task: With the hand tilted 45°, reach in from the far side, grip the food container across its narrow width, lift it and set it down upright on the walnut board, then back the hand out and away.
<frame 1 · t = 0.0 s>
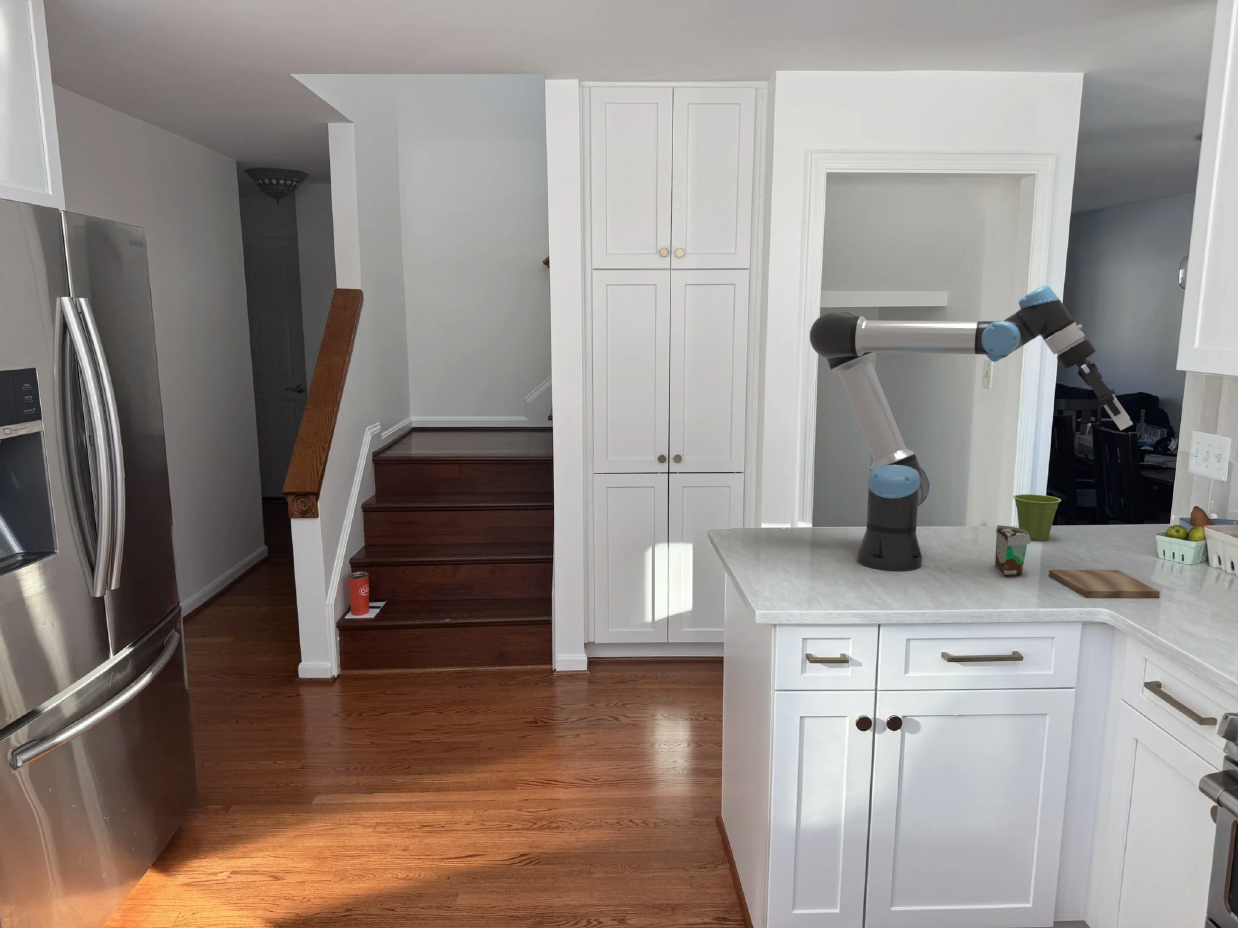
hand: (1125, 424, 196), 36 cm above the countertop, tool tilted 35°, fingers open, 13 cm apart
food container: (1012, 573, 205), on the countertop
plant pot: (1033, 538, 237), on the countertop
walnut board: (1101, 586, 194), on the countertop
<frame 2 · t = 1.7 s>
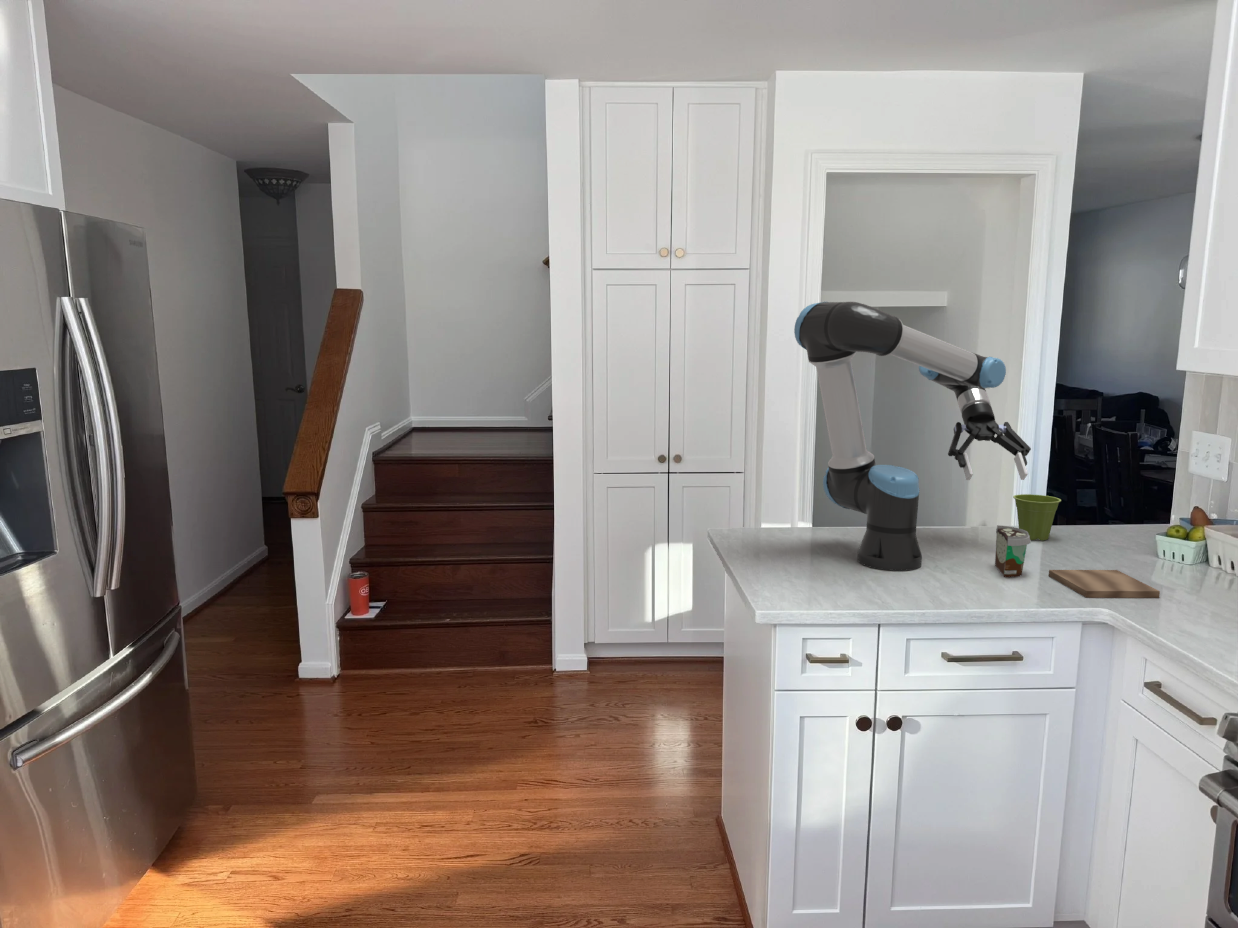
hand: (997, 477, 214), 21 cm above the countertop, tool tilted 45°, fingers open, 13 cm apart
nothing on the countertop moved.
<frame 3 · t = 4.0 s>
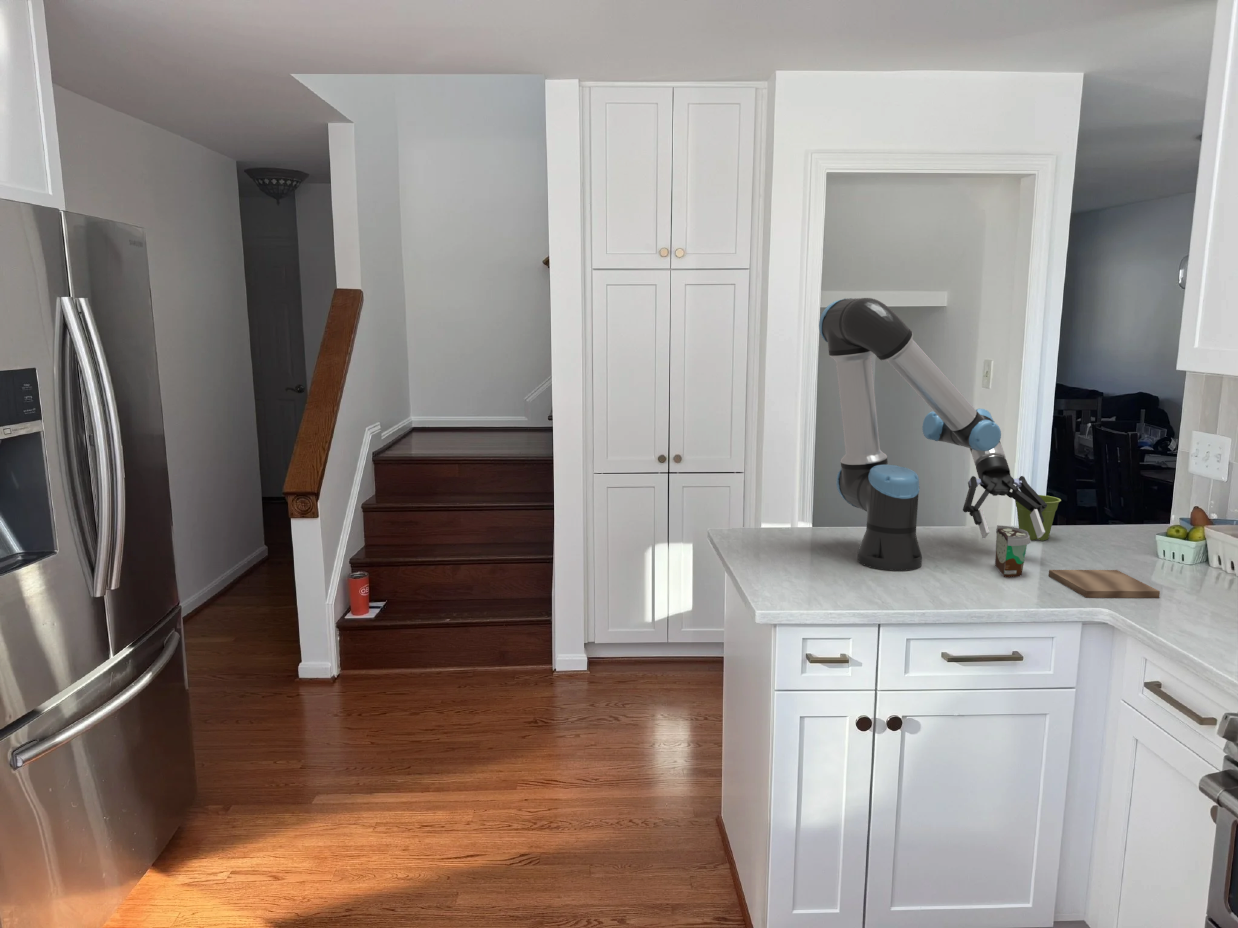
hand: (1013, 535, 209), 8 cm above the countertop, tool tilted 45°, fingers open, 13 cm apart
nothing on the countertop moved.
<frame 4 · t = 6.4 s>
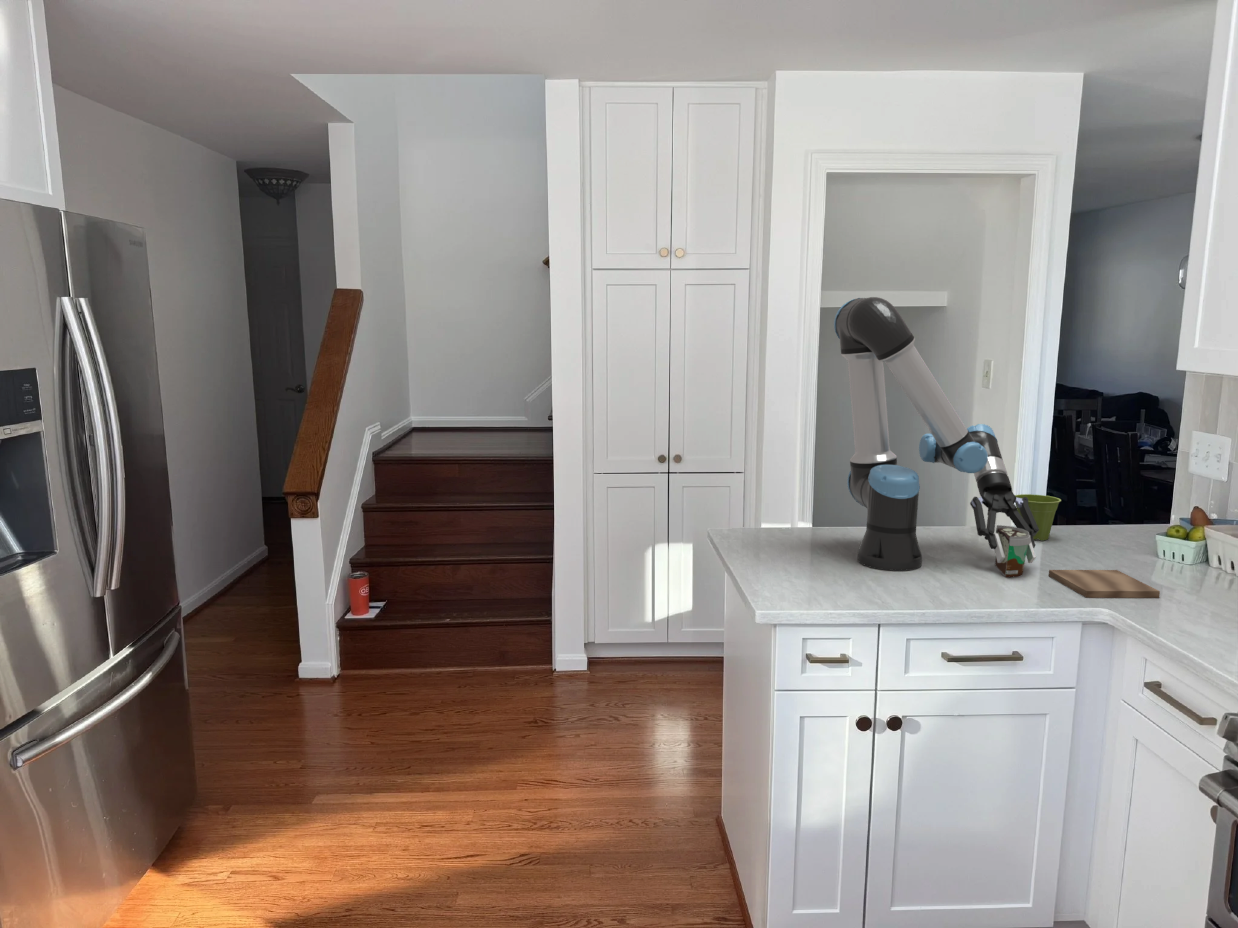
hand: (1016, 559, 202), 3 cm above the countertop, tool tilted 45°, fingers closed on food container, 7 cm apart
food container: (1013, 572, 205), on the countertop, touching gripper
everything else where it was.
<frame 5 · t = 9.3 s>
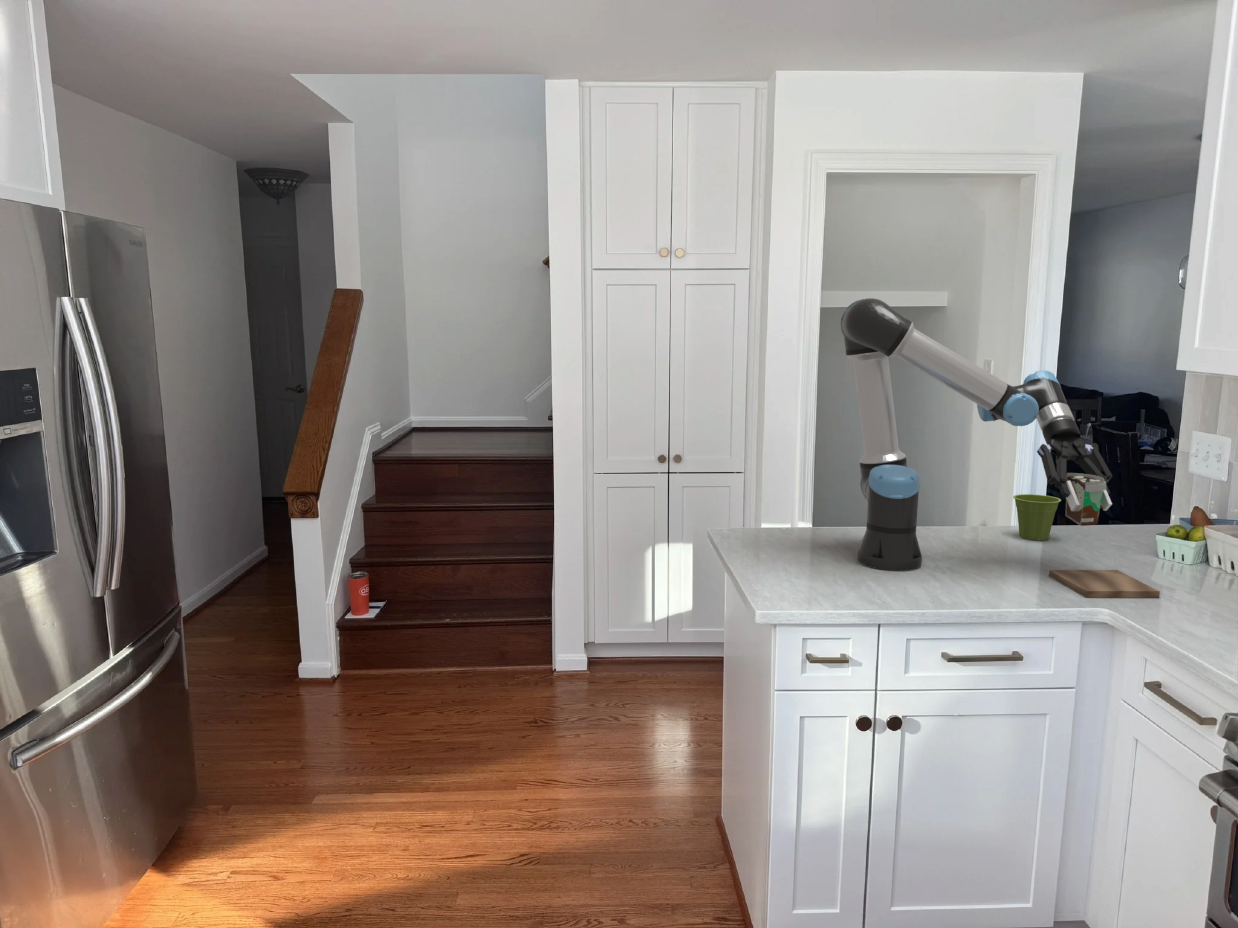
hand: (1091, 507, 193), 18 cm above the countertop, tool tilted 45°, fingers closed on food container, 7 cm apart
food container: (1087, 521, 195), point 14 cm above the countertop, touching gripper
everything else where it was.
when the fingers open (6 cm above the countertop, at t = 12.3 s): food container drops 1 cm, resting on walnut board.
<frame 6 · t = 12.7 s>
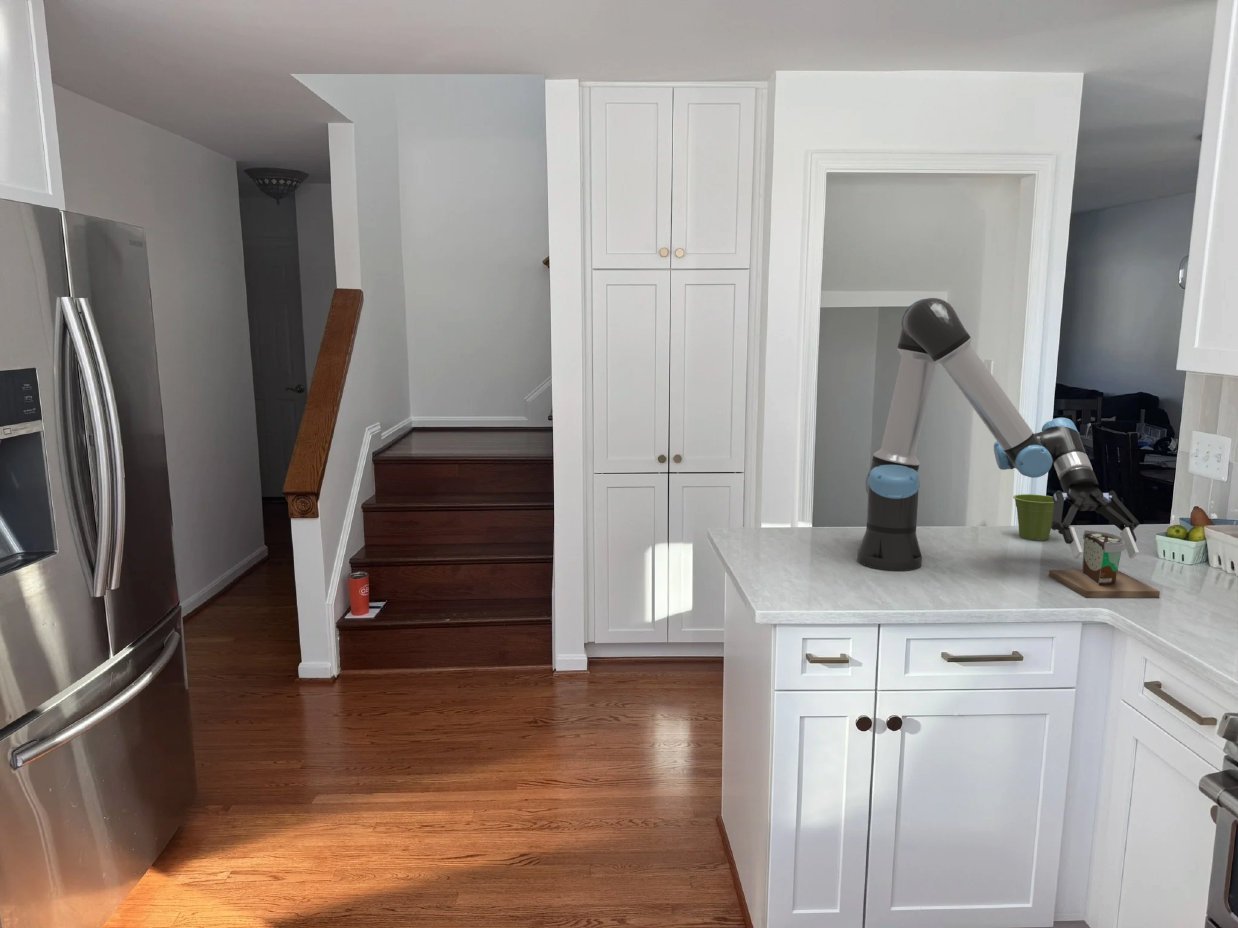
hand: (1106, 555, 192), 7 cm above the countertop, tool tilted 45°, fingers open, 12 cm apart
food container: (1104, 580, 194), point 1 cm above the countertop, touching walnut board
everything else where it was.
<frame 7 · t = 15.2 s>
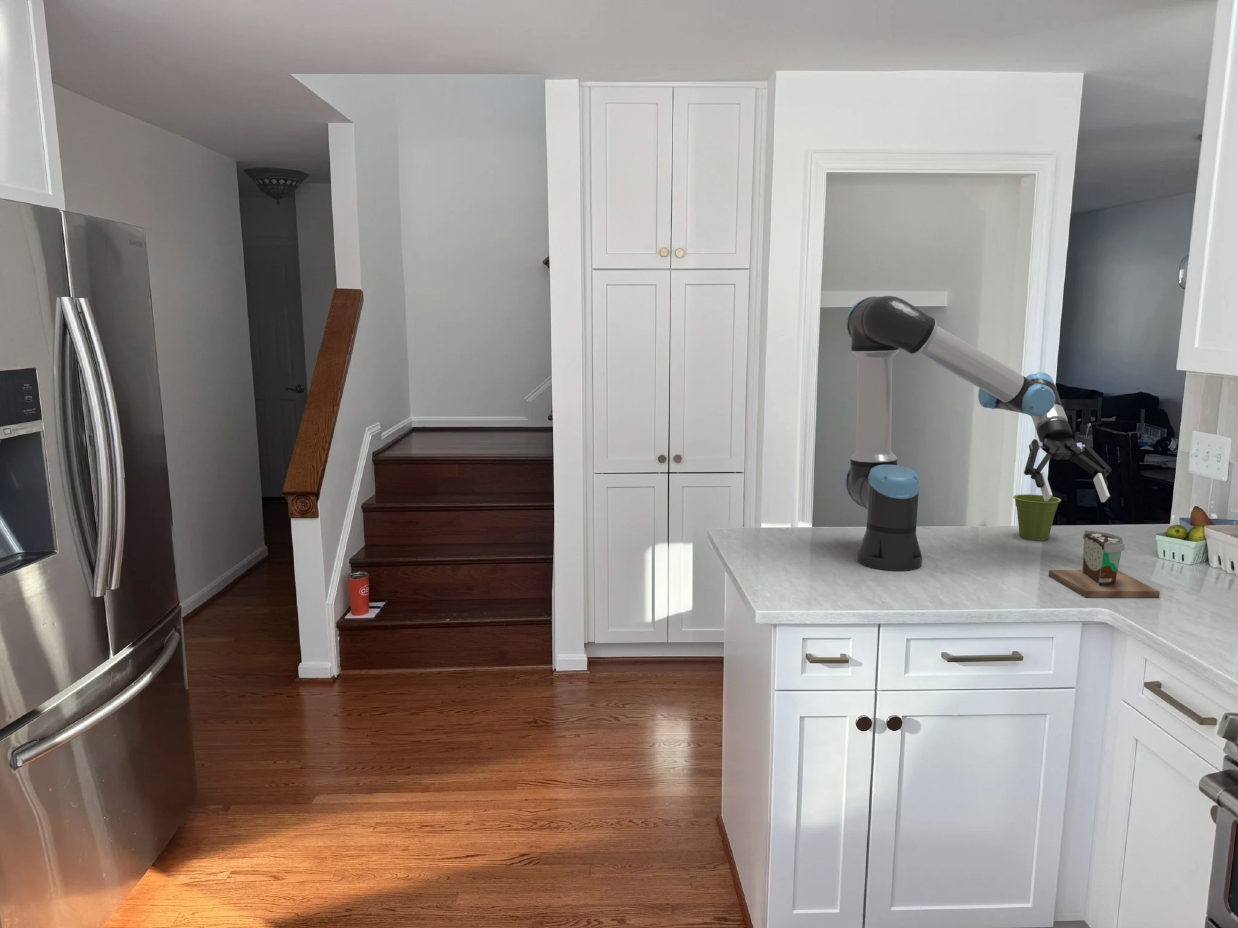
hand: (1077, 498, 204), 17 cm above the countertop, tool tilted 45°, fingers open, 13 cm apart
nothing on the countertop moved.
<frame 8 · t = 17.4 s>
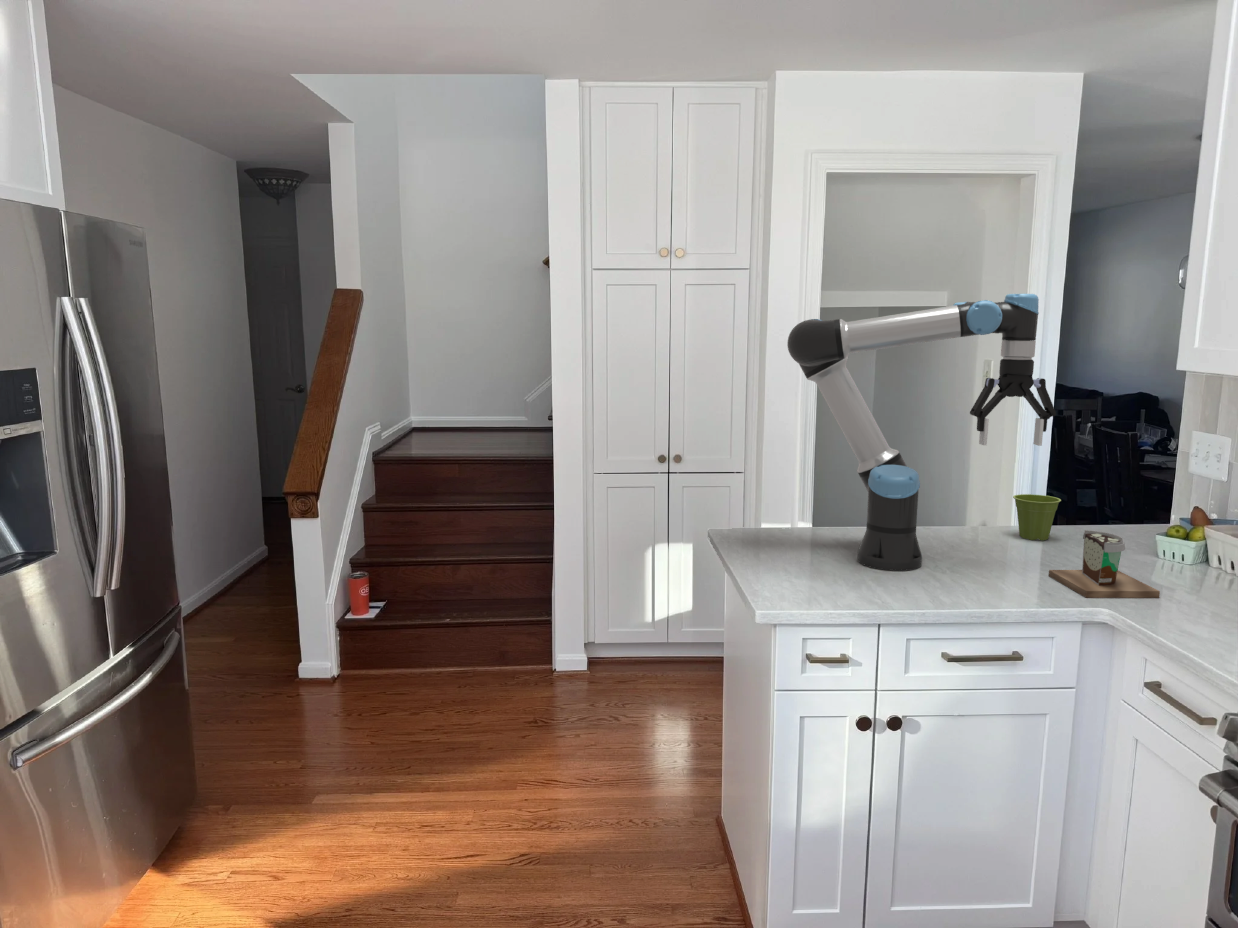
hand: (1010, 444, 213), 29 cm above the countertop, tool pointing down, fingers open, 13 cm apart
nothing on the countertop moved.
at the end: food container inside the target area on the walnut board (0.6 cm from its centre), point 1.3 cm above the walnut board's base; food container tilted 0°; the gripper is holding nothing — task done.
